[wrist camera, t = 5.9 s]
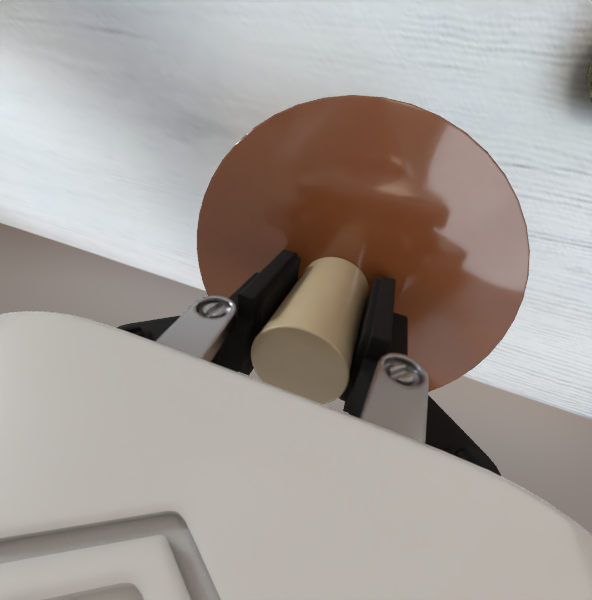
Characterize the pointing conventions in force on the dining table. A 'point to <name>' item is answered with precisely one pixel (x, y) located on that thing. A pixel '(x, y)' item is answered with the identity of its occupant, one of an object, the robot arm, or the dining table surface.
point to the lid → (366, 237)
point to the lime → (589, 80)
